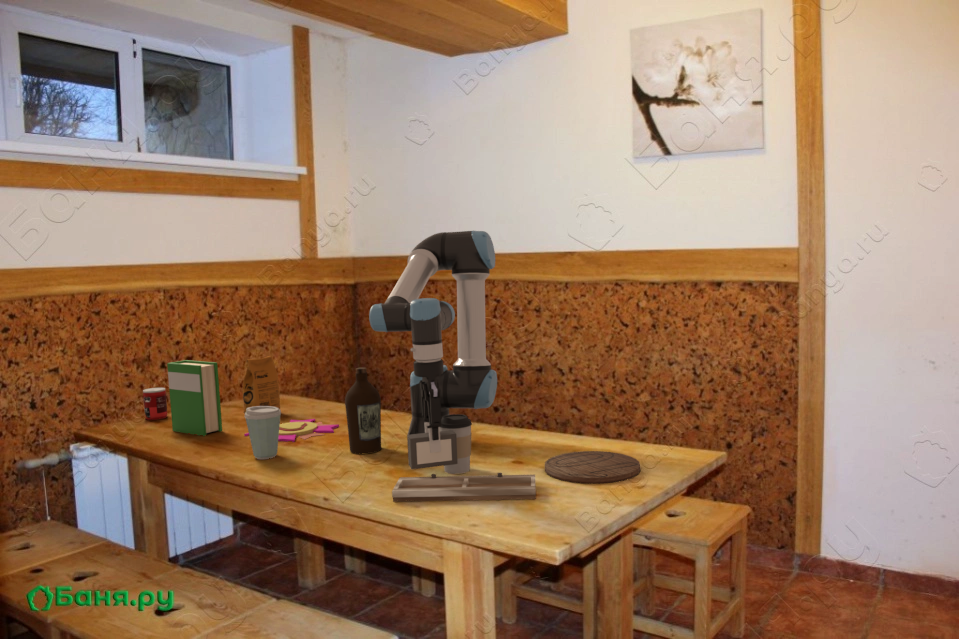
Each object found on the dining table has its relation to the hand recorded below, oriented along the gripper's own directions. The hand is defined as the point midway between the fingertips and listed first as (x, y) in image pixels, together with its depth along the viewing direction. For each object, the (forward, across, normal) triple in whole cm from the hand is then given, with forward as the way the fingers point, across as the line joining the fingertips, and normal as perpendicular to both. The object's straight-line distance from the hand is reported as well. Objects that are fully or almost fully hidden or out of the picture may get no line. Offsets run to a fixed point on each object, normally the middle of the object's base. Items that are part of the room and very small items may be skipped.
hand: (433, 449), depth 199 cm
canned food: (+11, -122, -81) cm, 147 cm away
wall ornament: (+10, -75, -33) cm, 82 cm away
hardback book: (+10, -90, -64) cm, 111 cm away
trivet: (+9, +7, +41) cm, 42 cm away
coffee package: (+11, -107, -42) cm, 115 cm away
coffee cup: (+9, -7, +8) cm, 14 cm away
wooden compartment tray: (+8, +13, +5) cm, 16 cm away
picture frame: (+4, 0, 0) cm, 4 cm away
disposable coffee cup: (+9, -44, -42) cm, 61 cm away
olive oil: (+9, -39, -13) cm, 42 cm away
